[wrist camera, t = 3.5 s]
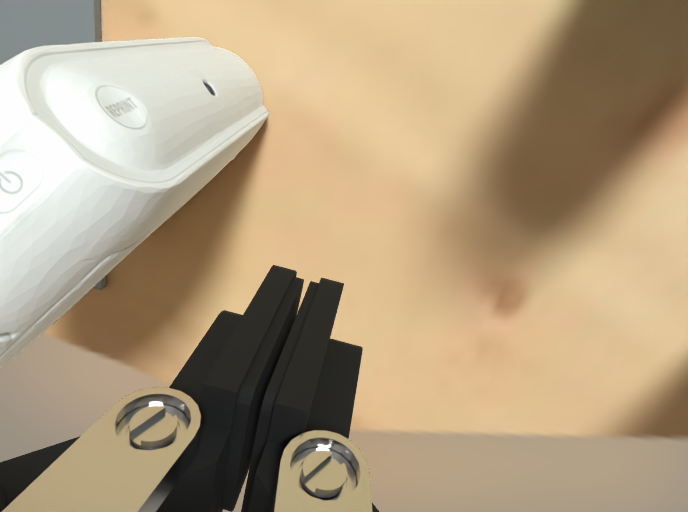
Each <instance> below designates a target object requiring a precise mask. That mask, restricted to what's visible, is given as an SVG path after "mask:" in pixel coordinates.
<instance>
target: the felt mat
mask: <svg viewBox="0 0 688 512" xmlns="http://www.w3.org/2000/svg"><path fill="white" fill-rule="evenodd" d="M91 42H101V5H100V0H0V65H1V64H3V63H4V62H6V61H8V60H9V59H11V58H13V57H15V56H16V55H18V54H20V53H22V52H23V51H25V50H29V49H32V48H35V47H40V46H47V45H69V44H79V43H91ZM105 286H106V276H105V277H104V278H103V279H102V280H101V281H99V282H98V283H97V284H96V285H95V286H94V287H93V288H96V289H100V290H102V289H103V288H104V287H105Z"/></svg>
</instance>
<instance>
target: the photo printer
mask: <svg viewBox="0 0 688 512" xmlns="http://www.w3.org/2000/svg"><path fill="white" fill-rule="evenodd" d="M263 103H264V98H263V93H262V89H261V86H260V83H259V81H258V79H257V77H256V75H255V74H254V72H253V71H252V70H251V68H250V67H249V66H248V65H247V64H246V63H245V62H244V61H243V60H242V59H241V58H240V57H239V56H237V55H236V54H234V53H232V52H230V51H228V50H225V49H223V48H219V47H214V46H211V44H210V43H209V42H208V40H207V39H205V38H201V37H181V38H163V39H145V40H127V41H106V42H91V43H79V44H69V45H47V46H40V47H35V48H32V49H29V50H25V51H23V52H22V53H20V54H18V55H16V56H15V57H13V58H11V59H9V60H8V61H6V62H4V63H3V64H1V65H0V368H1V367H2V366H4V365H5V364H7V363H8V362H9V361H11V360H12V359H13V358H14V357H15V356H17V355H18V354H19V353H21V352H22V351H23V350H24V349H25V348H26V347H27V346H28V345H30V344H31V343H32V342H33V341H34V340H35V339H37V338H38V337H39V336H40V335H41V334H42V333H44V332H45V331H46V330H47V329H48V328H49V327H50V326H51V325H53V324H54V323H55V322H56V321H57V320H58V319H59V318H60V317H62V316H63V315H64V314H65V313H66V312H67V311H68V310H69V309H71V308H72V307H73V306H74V305H75V304H76V303H77V302H78V301H79V300H80V299H81V298H82V297H83V296H84V295H85V294H87V293H88V292H89V291H90V290H91V289H92V288H93V287H94V286H95V285H96V284H97V283H98V282H99V281H101V280H102V279H103V278H104V277H105V276H106V275H107V274H108V273H109V272H110V271H111V270H112V269H113V268H114V267H116V266H117V265H118V264H119V263H120V262H121V261H122V260H123V259H124V258H125V257H126V256H127V255H129V254H130V253H131V252H132V251H133V250H134V249H135V248H136V247H137V246H138V245H139V244H141V243H142V242H143V241H144V240H146V238H147V237H148V236H149V235H151V234H152V233H153V232H154V231H155V230H156V229H157V228H158V227H160V226H161V225H162V224H163V223H164V222H165V221H166V220H167V219H169V218H170V217H171V216H172V215H173V214H174V213H175V212H176V211H178V210H179V209H180V208H181V207H182V206H183V205H184V204H185V203H186V202H188V201H189V200H190V199H191V198H192V197H193V196H194V195H195V194H196V193H197V192H199V191H200V190H201V189H202V188H203V187H204V186H205V185H206V184H207V183H208V182H209V181H210V180H212V179H213V178H214V177H215V176H216V175H217V174H218V173H219V172H220V171H221V170H222V169H223V168H224V167H225V166H226V165H227V164H228V163H229V162H230V161H231V160H233V159H234V158H235V157H236V155H237V154H238V153H239V152H240V151H241V150H242V149H243V148H244V147H245V146H246V145H247V144H248V143H249V142H250V141H251V139H252V138H253V137H254V136H255V134H256V133H257V132H258V130H259V129H260V128H261V126H262V125H263V123H264V122H265V120H266V119H267V117H268V115H269V112H268V111H267V110H266V108H265V107H264V106H263Z"/></svg>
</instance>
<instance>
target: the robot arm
mask: <svg viewBox="0 0 688 512" xmlns="http://www.w3.org/2000/svg"><path fill="white" fill-rule="evenodd" d="M296 274H297V272H296V271H294V270H291V269H287V268H283V267H279V266H275V265H273V266H272V267H271V269H270V271H269V272H268V274H267V276H266V277H265V279H264V281H263V282H262V284H261V286H260V288H259V289H258V291H257V293H256V294H255V296H254V298H253V299H252V301H251V303H250V304H249V306H248V308H247V309H246V311H245V313H244V315H240V314H236V313H232V312H229V311H225V310H224V311H222V312H221V313H220V314H219V315H218V317H217V318H216V319H215V321H214V322H213V324H212V325H211V327H210V328H209V330H208V331H207V333H206V334H205V336H204V337H203V339H202V340H201V342H200V343H199V345H198V346H197V347H196V349H195V350H194V352H193V353H192V355H191V356H190V358H189V359H188V361H187V362H186V364H185V365H184V367H183V368H182V370H181V371H180V372H179V374H178V375H177V377H176V378H175V380H174V381H173V383H172V384H171V386H170V387H169V388H165V387H153V388H147V389H142V390H138V391H136V392H134V393H131V394H129V395H126V396H125V397H124V398H122V399H121V400H120V401H118V402H117V403H115V405H113V406H112V407H111V408H110V409H109V410H108V411H107V412H106V413H105V414H104V415H103V416H102V417H101V418H100V419H99V420H98V421H96V422H95V423H94V424H93V425H92V426H91V427H90V428H89V429H88V430H87V431H86V432H85V433H84V434H83V435H82V436H80V437H77V438H74V439H71V440H68V441H65V442H62V443H59V444H56V445H53V446H50V447H47V448H44V449H41V450H37V451H34V452H31V453H28V454H25V455H22V456H19V457H16V458H13V459H10V460H7V461H4V462H1V463H0V512H222V510H223V509H225V510H228V511H231V512H232V511H233V510H234V507H235V505H236V502H237V500H238V497H239V494H240V492H241V488H242V486H243V484H244V481H245V478H246V476H247V473H248V470H249V473H248V479H247V484H246V489H245V494H244V500H243V505H242V510H241V512H379V511H378V510H377V508H376V507H375V506H374V505H373V503H372V499H371V484H370V472H369V468H368V464H367V460H366V459H365V457H364V455H363V454H362V452H361V450H360V449H359V448H358V447H357V446H356V445H355V444H354V443H353V442H352V441H351V440H349V439H348V438H349V432H350V425H351V419H352V413H353V406H354V400H355V394H356V388H357V381H358V375H359V369H360V362H361V356H362V347H360V346H356V345H352V344H349V343H345V342H341V341H337V340H334V339H330V336H331V332H332V328H333V324H334V320H335V317H336V313H337V309H338V305H339V301H340V297H341V294H342V290H343V286H344V283H340V282H336V281H332V280H328V279H325V278H321V280H320V282H319V283H315V282H312V281H311V282H310V284H309V286H308V289H307V291H306V294H305V296H304V299H303V301H302V304H301V306H300V309H299V311H298V306H299V302H300V297H301V292H302V288H303V283H304V279H300V278H297V277H296ZM297 311H298V314H297ZM249 467H250V468H249Z"/></svg>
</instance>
